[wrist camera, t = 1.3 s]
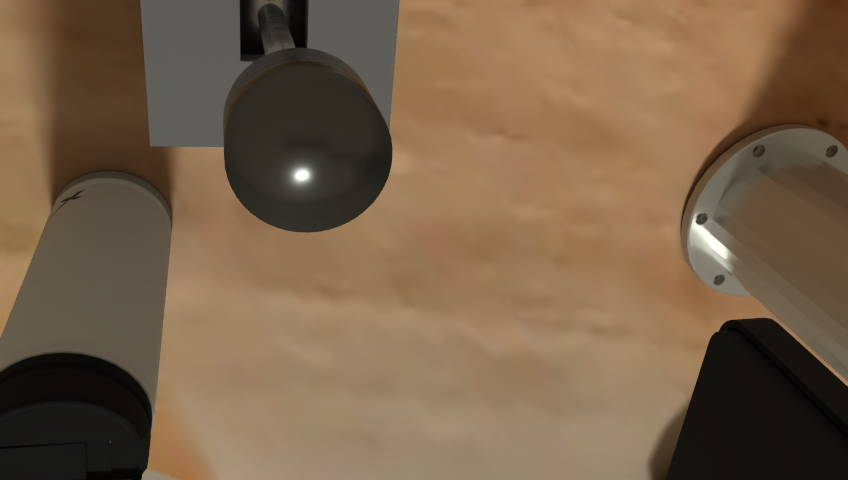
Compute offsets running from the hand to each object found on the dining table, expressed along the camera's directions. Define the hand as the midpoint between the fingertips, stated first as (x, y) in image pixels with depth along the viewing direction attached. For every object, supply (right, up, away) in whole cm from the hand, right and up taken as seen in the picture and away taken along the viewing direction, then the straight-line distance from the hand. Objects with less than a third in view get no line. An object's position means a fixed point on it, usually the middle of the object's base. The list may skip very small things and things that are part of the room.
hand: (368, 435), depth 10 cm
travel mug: (-17, +4, +34) cm, 38 cm away
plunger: (-5, +11, +21) cm, 24 cm away
